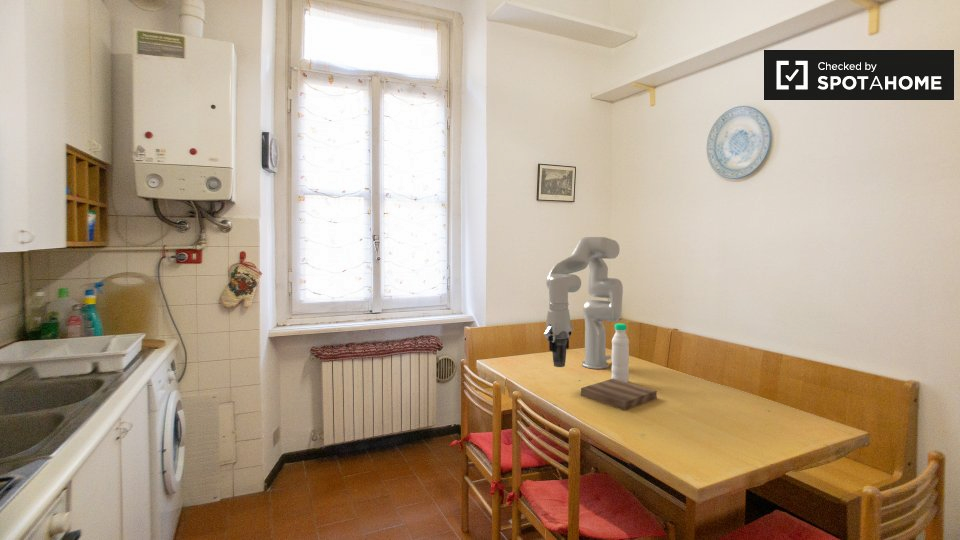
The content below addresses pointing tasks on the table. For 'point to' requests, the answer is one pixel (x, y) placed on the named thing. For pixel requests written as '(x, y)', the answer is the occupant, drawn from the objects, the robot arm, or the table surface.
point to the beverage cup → (560, 349)
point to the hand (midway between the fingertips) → (559, 349)
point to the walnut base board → (619, 393)
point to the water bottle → (620, 354)
